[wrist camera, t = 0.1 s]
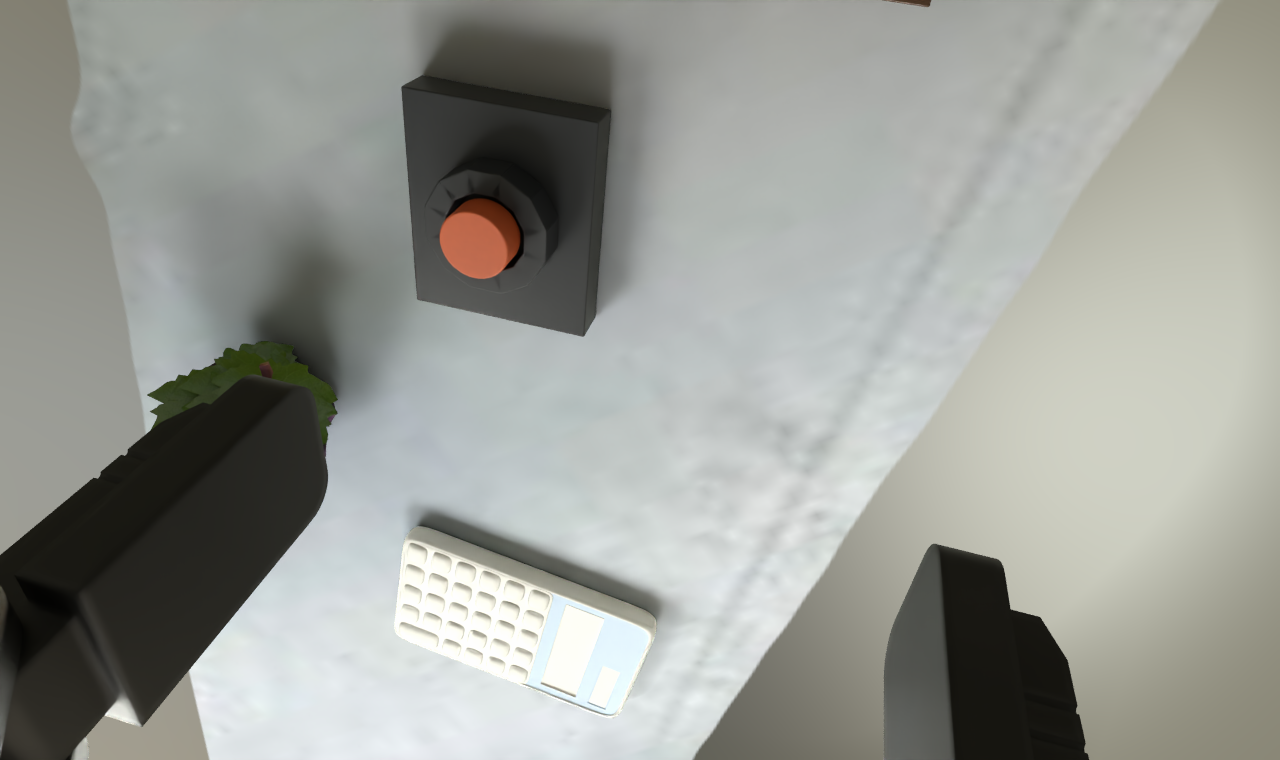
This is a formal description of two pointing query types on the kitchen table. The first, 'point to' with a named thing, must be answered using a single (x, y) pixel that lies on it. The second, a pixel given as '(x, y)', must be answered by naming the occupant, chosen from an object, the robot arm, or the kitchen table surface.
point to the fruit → (236, 365)
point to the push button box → (509, 197)
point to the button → (480, 238)
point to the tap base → (913, 2)
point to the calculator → (520, 622)
